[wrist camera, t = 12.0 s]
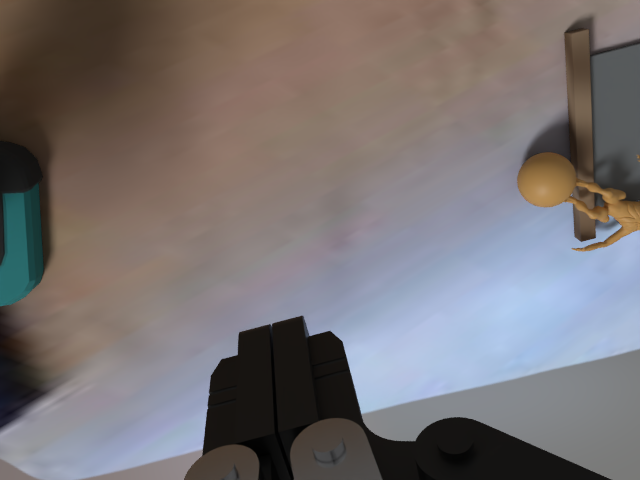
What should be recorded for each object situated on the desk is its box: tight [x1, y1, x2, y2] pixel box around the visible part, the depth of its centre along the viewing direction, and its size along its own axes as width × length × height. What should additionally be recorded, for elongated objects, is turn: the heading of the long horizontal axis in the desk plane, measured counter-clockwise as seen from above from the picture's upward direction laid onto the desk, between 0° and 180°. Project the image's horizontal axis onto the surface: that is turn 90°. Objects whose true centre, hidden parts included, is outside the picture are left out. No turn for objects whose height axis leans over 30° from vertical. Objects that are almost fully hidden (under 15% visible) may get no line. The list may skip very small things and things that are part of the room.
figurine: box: [517, 152, 640, 251], centre depth 43 cm, size 8×6×12 cm
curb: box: [564, 28, 596, 242], centre depth 43 cm, size 16×1×1 cm, turn 13°
